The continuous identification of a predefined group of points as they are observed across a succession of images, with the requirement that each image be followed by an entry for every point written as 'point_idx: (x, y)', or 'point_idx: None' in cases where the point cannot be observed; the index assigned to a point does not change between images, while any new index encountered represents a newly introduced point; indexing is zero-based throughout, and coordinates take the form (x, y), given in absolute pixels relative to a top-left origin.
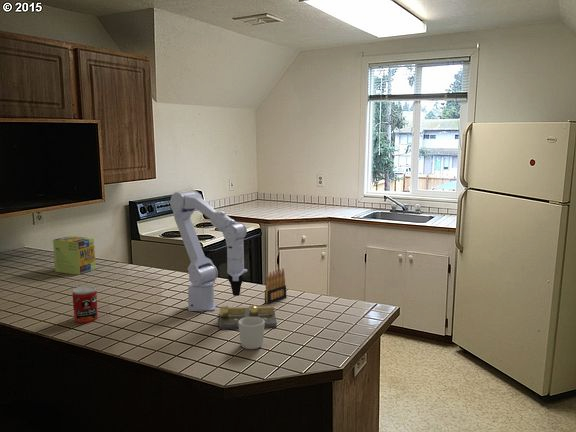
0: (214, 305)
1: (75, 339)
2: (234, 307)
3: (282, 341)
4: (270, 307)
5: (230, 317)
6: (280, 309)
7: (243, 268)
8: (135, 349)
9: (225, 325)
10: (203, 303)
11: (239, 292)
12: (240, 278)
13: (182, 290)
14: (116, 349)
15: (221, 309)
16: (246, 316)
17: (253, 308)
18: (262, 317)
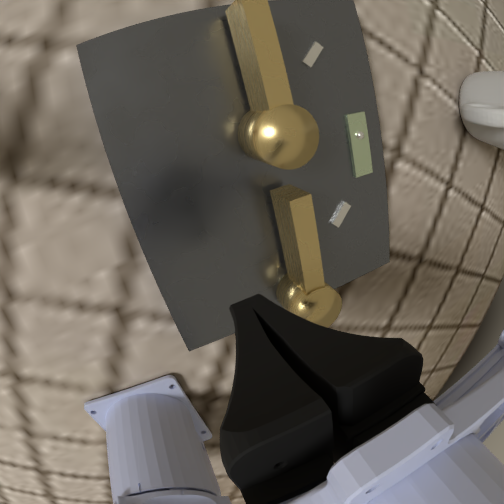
0: (124, 396)
1: None
2: (304, 263)
3: (439, 7)
4: (270, 14)
5: None
6: (48, 24)
7: (459, 480)
8: (445, 362)
9: (386, 237)
10: (194, 428)
11: (274, 304)
12: (420, 370)
13: (39, 497)
14: (436, 386)
15: (335, 314)
16: (288, 171)
17: (316, 130)
18: (290, 72)
